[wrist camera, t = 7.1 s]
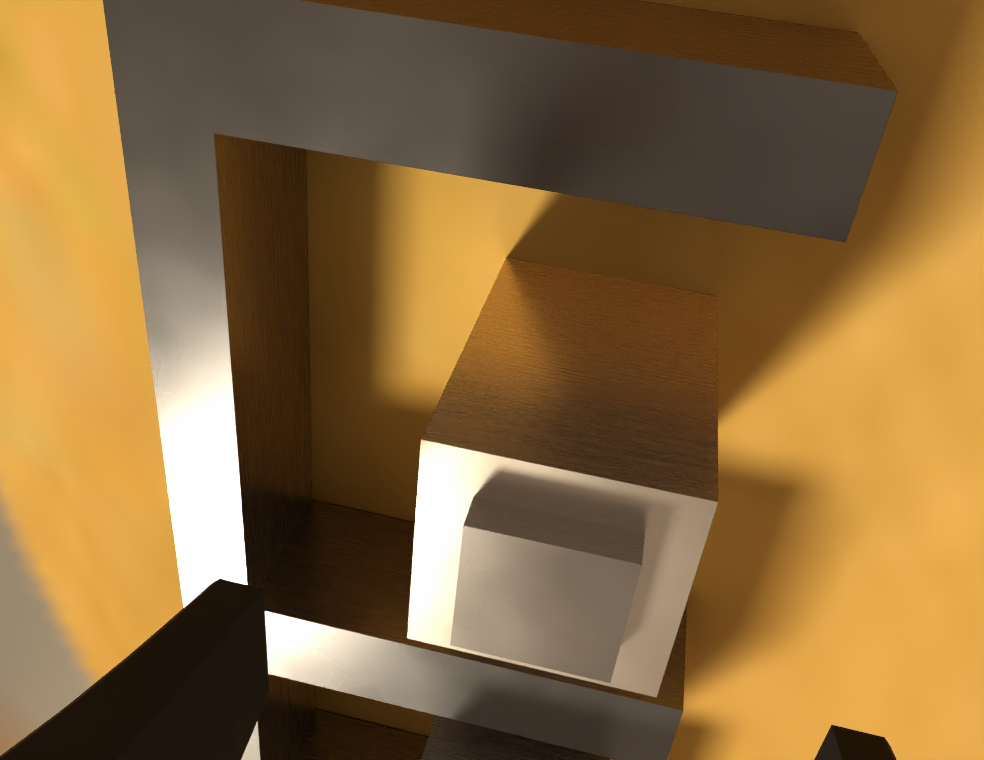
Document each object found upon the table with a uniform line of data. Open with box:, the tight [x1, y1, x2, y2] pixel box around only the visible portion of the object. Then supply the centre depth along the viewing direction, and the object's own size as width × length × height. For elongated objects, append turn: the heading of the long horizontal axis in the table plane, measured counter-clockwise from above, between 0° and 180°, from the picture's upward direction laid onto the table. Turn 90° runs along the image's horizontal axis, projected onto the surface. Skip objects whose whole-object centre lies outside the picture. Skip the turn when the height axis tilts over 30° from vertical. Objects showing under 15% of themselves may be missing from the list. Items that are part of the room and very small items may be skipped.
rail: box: [103, 0, 898, 760], centre depth 19 cm, size 22×10×4 cm, turn 175°
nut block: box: [407, 258, 718, 698], centre depth 15 cm, size 4×4×7 cm
